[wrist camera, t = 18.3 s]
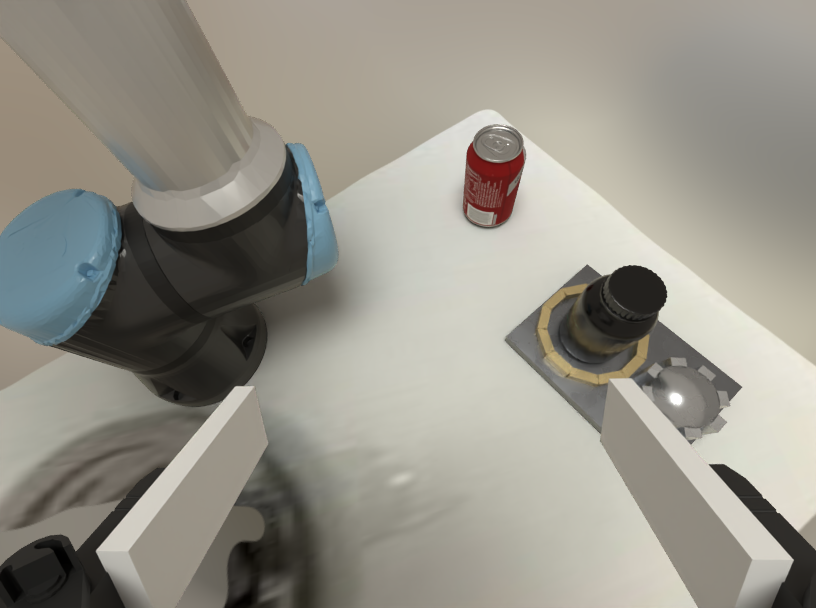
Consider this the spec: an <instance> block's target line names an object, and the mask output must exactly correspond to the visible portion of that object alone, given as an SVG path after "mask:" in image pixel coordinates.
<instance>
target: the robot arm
mask: <svg viewBox="0 0 816 608" xmlns="http://www.w3.org/2000/svg"><path fill="white" fill-rule="evenodd" d="M0 37H1V38H2V39H3V41H4V42H5V43H6V44H7V45H8V46H9V47H10V48H11V49H12V50H13V51H14V52H15V53H16V54H17V55H18V56H19V57H20V58H21V59H22V60H23V61H24V62H25V63H26V64H27V65H28V67H29V68H30V69H32V70H33V72H34V73H35V74H36V75H37V76H38V77H39V78H40V79H41V80H42V81H43V82H44V83H45V84H46V85H47V86H48V87H49V88H50V89H51V90H52V91H53V92H54V94H55V95H56V96H57V97H58V98H59V99H60V100H61V101H62V102H63V103H64V104H65V105H66V106H67V107H68V108H69V109H70V110H71V111H72V112H73V113H74V114H75V115H76V116H77V117H78V119H79V120H81V122H82V123H83V124H84V125H85V126H86V127H87V128H88V129H89V130H90V131H91V132H92V133H93V134H94V135H95V136H96V137H97V138H98V139H99V140H100V141H101V142H102V143H103V145H104V146H105V147H106V148H107V149H108V150H109V151H110V152H111V153H112V154H113V155H114V156H115V157H116V158H117V159H118V160H119V161H120V162H121V163H122V164H123V165H124V166H125V167H126V168H127V169H128V170H129V172H130V173H131V174H132V175H134V178H133V183H132V190H131V191H132V193H131V196H132V201H133V202H130V203H128V204H125V205H122V206H118V207H117V206H115V205H114V204H113V202H111V201H110V200H109V199H108V198H107V197H105V196H102V195H98V194H96V193H94V192H88V191H85V190H82V189H69V190H64V191H59V192H56V193H53V194H50V195H48V196H46V197H44V198H42V199H40V200H38V201H36V202H35V203H33V204H32V205H30V206H29V207H27V208H26V209H25V210H23V211H22V212H21V213H20V214H19V215H17V216H16V217H15V218H14V219H13V220H12V221H11V222H10V223H9V225H8V226H7V227H6V228H5V229H4V231H3V232H2V234H1V235H0V325H2V326H3V327H5V328H7V329H10V330H12V331H15V332H17V333H20V334H22V335H24V336H27V337H29V338H31V339H32V340H34V341H35V342H36V343H38V344H41V345H45V346H51V347H55V348H58V349H61V350H64V351H67V352H71V353H74V354H77V355H80V356H83V357H86V358H90V359H93V360H96V361H99V362H102V363H106V364H109V365H112V366H115V367H118V368H121V369H125V370H128V371H131V372H133V373H134V374H135V375H136V377H137V378H138V379H139V380H140V381H141V382H142V383H143V384H144V385H145V386H146V387H147V388H148V389H149V390H150V391H151V392H152V393H154V394H155V395H156V396H158V397H160V398H162V399H164V400H166V401H169V402H172V403H176V404H179V405H183V406H192V407H194V406H205V405H209V404H213V403H216V402H218V401H221V400H223V399H224V400H223V402H222V403H221V404H220V405H219V406H218V408H217V409H216V410H215V411H214V412H213V413H212V415H211V416H210V417H209V418H208V419H207V421H206V422H205V423H204V424H203V425H202V426H201V428H200V429H199V430H198V431H197V432H196V433H195V435H194V436H193V437H192V438H191V439H190V441H189V442H188V443H187V444H186V445H185V446H184V448H183V449H182V450H181V451H180V452H179V454H178V455H177V456H176V457H175V458H174V459H173V461H172V462H171V463H170V464H169V465H168V466H167V468H157V469H155V470H154V471H152V472H151V473H150V474H148V475H147V476H146V477H144V478H143V479H141V480H140V481H139V482H138V483H137V484H136V485H135V486H134V488H133V489H132V490H131V491H130V492H129V493H128V494H127V495H126V498H125V499H123V500H122V501H121V502H120V503H119V504H118V506H117V507H116V508H115V511H112V512H111V513H110V514H109V515H108V517H107V518H106V519H105V520H104V521H103V522H102V523H101V525H100V526H99V527H98V528H97V529H96V530H95V531H94V532H93V533H92V534H91V536H90V537H89V538H88V539H87V540H86V541H85V542H84V544H82V546H81V547H80V548H79V549H78V550H77V551H76V552H75V550H74V548H73V546H72V544H71V542H70V540H69V538H68V537H66V536H63V535H51V536H48V537H45V538H42V539H39V540H36V541H34V542H32V543H30V544H29V545H27V546H25V547H23V548H21V549H20V550H19V551H17V552H16V553H14V554H13V555H12V556H11V557H9V558H8V559H7V560H6V561H5V562H4V563H3V564H2V565H1V566H0V608H176V606H177V604H178V602H179V601H180V599H181V597H182V595H183V593H184V592H185V590H186V588H187V586H188V584H189V583H190V581H191V579H192V577H193V575H194V574H195V572H196V571H197V569H198V567H199V565H200V563H201V562H202V560H203V558H204V556H205V555H206V553H207V551H208V549H209V548H210V546H211V544H212V542H213V541H214V538H215V537H216V535H217V533H218V532H219V530H220V528H221V526H222V525H223V523H224V521H225V519H226V518H227V516H228V514H229V512H230V510H231V509H232V507H233V505H234V503H235V502H236V500H237V498H238V496H239V495H240V493H241V491H242V489H243V487H244V486H245V484H246V482H247V480H248V479H249V477H250V475H251V473H252V472H253V470H254V468H255V466H256V465H257V463H258V461H259V459H260V457H261V456H262V454H263V452H264V450H265V449H266V447H267V445H268V441H267V436H266V432H265V428H264V424H263V419H262V415H261V411H260V407H259V402H258V398H257V394H256V390H255V386H243V385H244V384H245V383H246V382H247V381H248V380H249V379H250V378H251V376H252V375H253V374H254V372H255V371H256V369H257V368H258V366H259V364H260V362H261V360H262V357H263V354H264V351H265V347H266V340H267V330H266V324H265V320H264V318H263V315H262V313H261V312H260V310H259V309H258V307H257V306H256V305H255V304H254V303H255V302H258V301H261V300H264V299H266V298H269V297H272V296H274V295H277V294H280V293H282V292H285V291H288V290H290V289H293V288H296V287H298V286H303V285H306V284H307V283H308V282H309V281H310V280H312V279H314V278H316V277H319V276H321V275H323V274H325V273H327V272H329V271H331V270H332V269H333V268H334V267H335V265H336V264H337V261H338V246H337V241H336V237H335V233H334V229H333V225H332V221H331V218H330V215H329V211H328V209H327V207H326V205H325V199H324V196H323V192H322V188H321V185H320V182H319V179H318V176H317V173H316V170H315V168H314V165H313V162H312V160H311V158H310V155H309V153H308V151H307V149H306V147H305V146H304V145H303V144H301V143H295V144H292V143H287V144H286V145H285V144H284V141H283V139H282V137H281V135H280V134H279V133H278V132H277V130H276V129H275V128H274V127H273V126H272V125H270V124H268V123H267V122H265V121H263V120H261V119H257V118H255V117H251V116H247V114H246V112H245V111H244V108H243V106H242V105H241V103H240V101H239V99H238V97H237V95H236V93H235V91H234V90H233V88H232V86H231V84H230V82H229V80H228V78H227V76H226V74H225V73H224V71H223V69H222V67H221V65H220V63H219V61H218V59H217V58H216V56H215V54H214V52H213V50H212V48H211V46H210V44H209V42H208V41H207V39H206V37H205V35H204V33H203V31H202V29H201V28H200V26H199V24H198V22H197V20H196V18H195V16H194V14H193V12H192V11H191V9H190V7H189V5H188V3H187V1H186V0H0ZM600 442H601V443H602V445H603V447H604V448H605V450H606V452H607V454H608V455H609V457H610V459H611V460H612V462H613V464H614V465H615V467H616V469H617V470H618V472H619V474H620V476H621V477H622V479H623V481H624V482H625V484H626V486H627V487H628V489H629V491H630V493H631V494H632V496H633V498H634V499H635V501H636V503H637V504H638V506H639V508H640V510H641V511H642V513H643V515H644V516H645V518H646V520H647V521H648V523H649V525H650V527H651V528H652V530H653V532H654V533H655V535H656V537H657V538H658V540H659V542H660V543H661V545H662V547H663V549H664V550H665V552H666V554H667V555H668V557H669V559H670V560H671V562H672V564H673V566H674V567H675V569H676V571H677V572H678V574H679V576H680V577H681V579H682V581H683V583H684V584H685V586H686V588H687V589H688V591H689V593H690V594H691V596H692V598H693V599H694V601H695V603H696V605H697V606H698V608H816V550H815V549H814V548H813V547H812V546H811V545H810V544H809V543H808V542H807V541H806V540H805V539H804V538H803V537H802V536H801V535H800V534H799V533H798V532H797V531H796V530H795V529H794V528H793V527H792V526H791V525H790V524H789V522H788V521H787V520H786V519H785V518H784V517H783V516H782V515H781V514H780V513H777V512H776V509H775V508H774V507H773V506H772V505H771V504H770V503H769V502H768V501H767V500H766V499H763V497H762V495H761V494H760V493H759V492H758V491H757V490H756V489H755V487H754V486H753V485H752V484H751V483H750V482H749V481H748V480H747V479H746V478H744V477H743V476H741V475H740V474H738V473H737V472H735V471H734V470H732V469H731V468H729V467H727V466H726V465H724V464H707V462H706V461H705V460H704V459H703V458H702V457H701V456H700V455H699V453H698V452H697V451H696V450H695V449H694V448H693V447H692V446H691V445H690V443H689V442H688V441H687V440H686V439H685V438H684V437H683V436H682V434H681V433H680V432H679V431H678V430H677V429H676V428H675V427H674V426H673V424H672V423H671V422H670V421H669V420H668V419H667V418H666V417H665V415H664V414H663V413H662V412H661V411H660V410H659V409H658V408H657V407H656V405H655V404H654V403H653V402H652V401H651V400H650V399H649V398H648V396H647V395H646V394H645V393H644V392H643V391H642V390H641V389H640V388H639V386H638V385H637V384H636V383H635V382H634V381H633V380H632V379H631V378H618V379H609V382H608V389H607V396H606V403H605V410H604V416H603V423H602V430H601V437H600Z"/></svg>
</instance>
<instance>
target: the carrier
mask: <svg viewBox="0 0 816 608" xmlns="http://www.w3.org/2000/svg"><path fill="white" fill-rule="evenodd" d="M598 277H601V275H600V274H599V273H597V272H596V271H595V270H594V269H592V268H591V267H590V266H589V265H586V266H585V267H584V268H583V269H582V270H581V271H579V272H578V273H577V274H576V275H575V276H574V277H573V278H572V279H570V280H569V281H568V282H567V283H566V284H565V285H564V286H563V287H561V288H560V289H559V290H558V291H557V292H556V293H555V294H554V295H552V296H551V297H550V298H549V299H548V300H547V301H546V302H545V303H543V304H542V305H541V306H540V307H539V308H538V309H537V310H536V311H535V312H533V313H532V314H531V315H530V316H529V317H528V318H527V319H526V320H524V321H523V322H522V323H521V324H520V325H519V326H518V327H517V328H515V329H514V330H513V331H512V332H511V333H510V334H509V335H508V336H507V337H506V339H505V341H506V342H507V343H508V344H509V345H510V346H511V347H512V348H513V349H514V350H515V351H516V352H517V353H518V354H519V355H520V356H521V357H522V358H523V359H524V360H525V361H526V362H527V363H528V364H529V365H530V366H532V367H533V368H534V369H535V370H536V371H537V372H538V373H539V374H540V375H541V376H542V377H543V378H544V379H545V380H546V381H547V382H548V383H549V384H550V385H551V386H552V387H553V388H554V389H555V390H556V391H557V392H558V393H559V394H560V395H561V396H562V397H563V398H565V399H566V400H567V401H568V402H569V403H570V404H571V405H572V406H573V407H574V408H575V409H576V410H577V411H578V412H579V413H580V414H581V415H582V416H583V417H584V418H585V419H586V420H587V421H588V422H589V423H590V424H591V425H592V426H593V427H594V428H595V429H596V430H597V431H599V432H600V433H601V430H602V423H603V416H604V410H605V403H606V396H607V389H608V382H609V379H618V378H631V379H632V380H633V381H634V382H635V383H636V384H637V385H638V386H639V388H640V389H641V390H642V391H643V392H644V393H645V394H646V395H647V396H648V398H649V399H650V400H651V401H652V402H653V403H654V404H655V405H656V407H657V408H658V409H659V410H660V411H661V412H662V413H663V414H664V415H665V417H666V418H667V419H668V420H669V421H670V422H671V423H672V424H673V426H674V427H675V428H676V429H677V430H678V431H679V432H680V433H681V434H682V436H683V437H684V438H685V439H686V440H687V441H688V442H689V443H690V445H691V444H692V443H693V442H694V441H695V440H696V439H699V438H702V435H705V434H711V433H717V432H719V431H720V430H721V429H722V427H723V426H724V425H725V424H726V423H727V422H726V421H725V420H724V419H723V418H722V417H720V416H719V415H718V414H719V413H720V412H721V410H722V409H723V408H725V407H729V406H730V403H729V401H730V400H731V399H732V398H733V397H734V396H735V395H736V394H737V392H738V391H739V390H740V389H741V388H742V386H740V385H739V384H738V383H737V382H735V381H734V380H733V379H732V378H730V377H729V376H728V375H726V374H725V373H724V372H723V371H721V370H720V369H719V368H718V367H716V366H715V365H714V364H713V363H711V362H710V361H709V360H707V359H706V358H705V357H704V356H702V355H701V354H700V353H699V352H697V351H696V350H695V349H694V348H692V347H691V346H690V345H689V344H687V343H686V342H685V341H683V340H682V339H681V338H680V337H678V336H677V335H676V334H675V333H673V332H672V331H671V330H670V329H668V328H667V327H666V326H664V325H663V324H662V323H661V322H659V321H657V323H656V325H655V327H654V329H653V330H652V331H651V332H650V333H649V334H648V335H646V336H645V337H644V338H642V339H641V340H639V341H638V342H636V343H635V344H634V345H632V346H631V347H629V348H628V349H626V350H625V351H623V352H622V353H620V354H619V355H618V356H616V357H614V358H613V359H611V360H609V361H607V362H603V363H588V362H584V361H582V360H579V359H578V358H576V357H574V356H573V355H572V354H571V353H569V352H568V350H567V349H566V348H565V347H564V345H563V343H562V341H561V338H560V324H561V321H562V319H563V317H564V316H565V314H566V313H567V312H568V310H569V309H570V308H571V306H572V305H573V304H574V302H575V301H576V300H577V298H578V297H579V296H580V294H581V293H582V292H583V290H584V289H585V288H586V287H587V286H588V285H589V284H590V283H591V282H592V281H593V280H595V279H596V278H598Z"/></svg>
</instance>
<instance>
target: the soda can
mask: <svg viewBox="0 0 816 608" xmlns="http://www.w3.org/2000/svg"><path fill="white" fill-rule="evenodd" d="M525 160H526V151H525V148H524V146H523V138H522V136H521V134H520V133H519V132H518V131H517V130H516V129H514V128H512V127H510V126H507V125H502V124H495V125H489V126H486V127H484V128H482V129H481V130H480V131H478V132H477V134H476V135H475V137H474V140H473V142H472V143H471V144H470V146H469V147H468V150H467V157H466V171H465V184H464V198H463V211H464V213H465V215H466V217H467V218H468V219H469V220H470V221H471V222H473V223H475V224H477V225H479V226H484V227H492V226H497V225H500V224H502V223H503V222H505V221H506V220H507V219H508V218H509V217H510V215H511V213H512V210H513V206H514V202H515V198H516V195H517V191H518V187H519V183H520V179H521V175H522V172H523V168H524V164H525Z"/></svg>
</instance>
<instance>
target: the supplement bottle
mask: <svg viewBox="0 0 816 608" xmlns="http://www.w3.org/2000/svg"><path fill="white" fill-rule="evenodd" d="M666 298H667V290H666V286H665V285H664V282H663V281H662V280H661V278H660V277H659V276H657V274H656V273H653V271H652V270H648V269H647V268H645V267H642V266H636V265H633V266H631V265H629V266H623V267H622V268H618V269H617V270H615V271H614V272H613V273H612V274H609V275H604V276H601V277H598V278H596V279H595V280H593V281H592V282H591V283H590V284H589V285H588V286H587V287H586V288H585V289H584V290H583V292H582V293H581V294H580V296H579V297H578V298H577V300H576V301H575V302H574V304H573V305H572V306H571V308H570V309H569V310H568V312H567V313H566V314H565V316H564V317H563V319H562V321H561V324H560V338H561V341H562V343H563V345H564V347H565V348H566V349H567V350H568V352H569V353H571V354H572V355H573V356H574V357H576V358H578V359H579V360H582V361H584V362H588V363H603V362H607V361H609V360H611V359H613V358H614V357H616V356H618V355H619V354H620V353H622V352H623V351H625V350H626V349H628V348H629V347H631V346H632V345H634V344H635V343H636V342H638V341H639V340H641V339H642V338H644V337H645V336H646V335H648V334H649V333H650V332H651V331H652V330H653V329H654V327H655V325H656V323H657V321H658V316H659V311H660V309H661V308H662V307H663V306H664V303H665V302H666Z"/></svg>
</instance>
